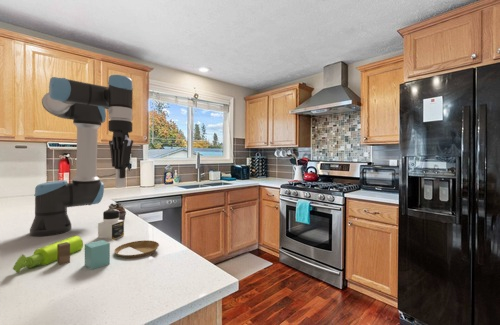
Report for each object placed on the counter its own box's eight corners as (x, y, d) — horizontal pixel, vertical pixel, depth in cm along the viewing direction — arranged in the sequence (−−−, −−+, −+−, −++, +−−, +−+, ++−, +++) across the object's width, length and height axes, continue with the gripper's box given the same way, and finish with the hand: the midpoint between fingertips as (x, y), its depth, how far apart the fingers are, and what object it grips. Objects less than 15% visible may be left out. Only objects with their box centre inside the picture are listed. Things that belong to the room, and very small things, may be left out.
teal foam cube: (84, 265, 77) (84, 244, 76) (102, 259, 81) (102, 239, 81) (91, 269, 73) (91, 247, 73) (109, 263, 78) (109, 243, 78)
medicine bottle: (112, 241, 102) (112, 212, 102) (97, 239, 103) (97, 211, 103) (124, 235, 109) (124, 209, 109) (110, 234, 110) (110, 208, 110)
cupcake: (129, 221, 134) (129, 203, 134) (111, 225, 126) (111, 205, 126) (120, 218, 139) (120, 201, 139) (102, 222, 131) (102, 203, 131)
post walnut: (57, 265, 78) (57, 244, 78) (67, 263, 80) (67, 241, 80) (60, 268, 76) (60, 245, 76) (70, 265, 79) (70, 243, 78)
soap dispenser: (87, 240, 89) (30, 263, 69) (77, 254, 90) (18, 281, 70) (76, 230, 90) (16, 250, 70) (66, 244, 91) (4, 268, 71)
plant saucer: (113, 266, 79) (113, 258, 79) (115, 250, 92) (114, 243, 92) (161, 257, 86) (161, 250, 86) (156, 244, 99) (156, 238, 99)
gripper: (101, 120, 87) (101, 186, 87) (118, 117, 79) (118, 189, 79) (122, 123, 93) (122, 185, 93) (140, 120, 85) (140, 187, 85)
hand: (120, 187), depth 86 cm, fingers closed
